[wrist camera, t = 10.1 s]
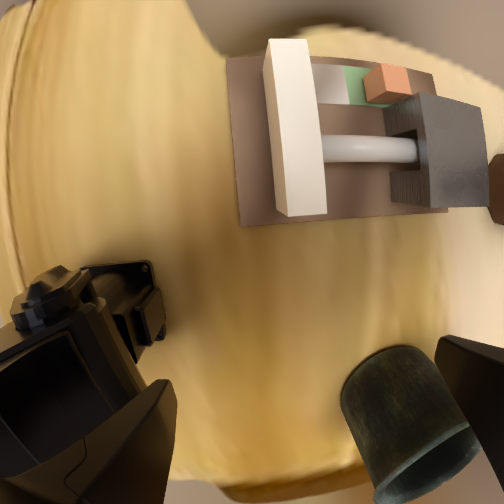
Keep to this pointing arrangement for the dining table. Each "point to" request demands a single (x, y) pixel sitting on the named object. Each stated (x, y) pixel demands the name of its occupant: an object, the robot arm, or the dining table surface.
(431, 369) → the mug
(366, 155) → the plunger
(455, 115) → the notched steel block
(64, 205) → the dining table surface
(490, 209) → the beer bottle
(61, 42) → the dining table surface
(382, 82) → the peach cube
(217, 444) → the dining table surface
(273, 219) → the base
